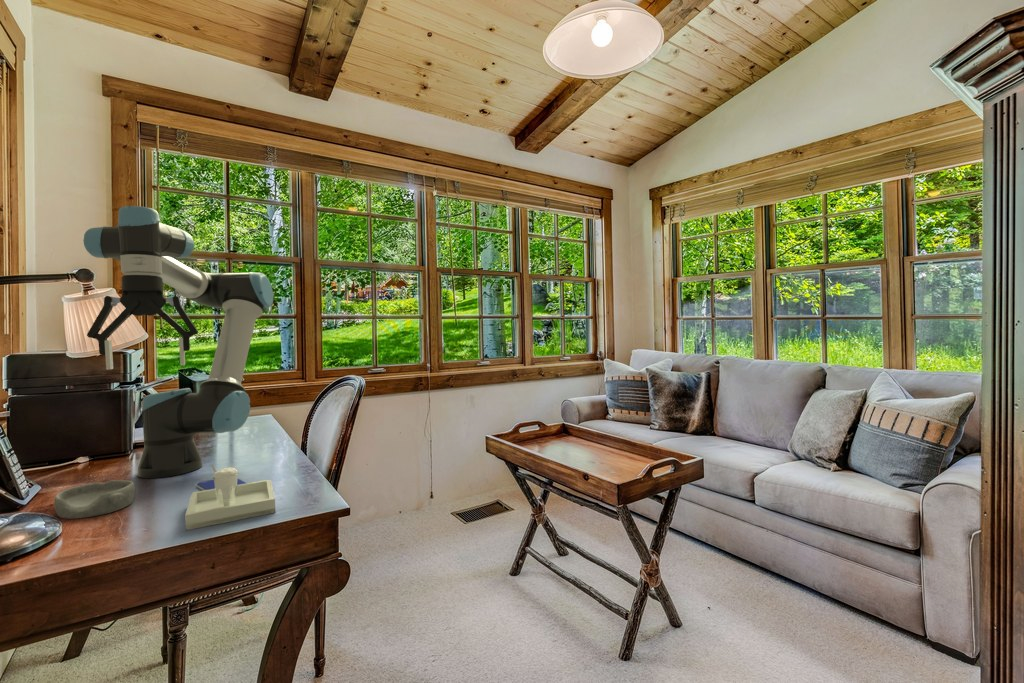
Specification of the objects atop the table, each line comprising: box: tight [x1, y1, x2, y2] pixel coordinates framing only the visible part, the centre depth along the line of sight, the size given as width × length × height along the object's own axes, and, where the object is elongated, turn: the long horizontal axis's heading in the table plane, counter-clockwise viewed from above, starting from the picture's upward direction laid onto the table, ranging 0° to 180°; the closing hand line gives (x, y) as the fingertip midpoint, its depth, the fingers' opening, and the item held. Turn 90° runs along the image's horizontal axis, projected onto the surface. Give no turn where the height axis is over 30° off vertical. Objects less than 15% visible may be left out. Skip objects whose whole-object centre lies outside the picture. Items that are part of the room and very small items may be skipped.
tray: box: [184, 479, 276, 531], centre depth 106 cm, size 16×16×3 cm
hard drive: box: [196, 478, 247, 491], centre depth 122 cm, size 2×8×12 cm
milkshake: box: [211, 463, 239, 508], centre depth 102 cm, size 4×5×10 cm
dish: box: [54, 479, 136, 520], centre depth 109 cm, size 14×14×5 cm
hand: (147, 367), depth 111 cm, fingers open, 13 cm apart
